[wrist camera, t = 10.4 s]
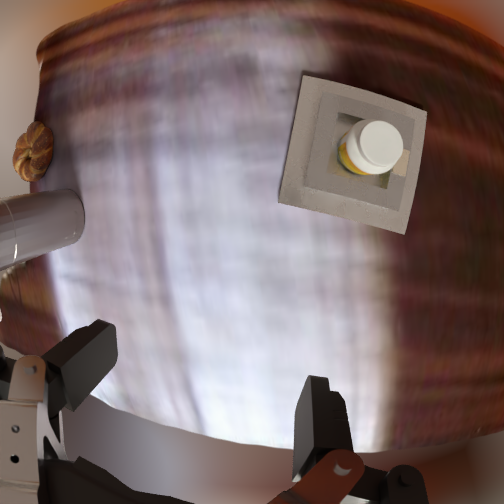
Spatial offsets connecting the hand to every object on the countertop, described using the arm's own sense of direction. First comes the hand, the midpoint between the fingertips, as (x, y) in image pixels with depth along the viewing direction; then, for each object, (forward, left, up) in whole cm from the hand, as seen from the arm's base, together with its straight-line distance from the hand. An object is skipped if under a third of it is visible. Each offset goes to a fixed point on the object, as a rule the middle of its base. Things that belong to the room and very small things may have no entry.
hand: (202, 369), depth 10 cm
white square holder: (+8, +13, -26) cm, 30 cm away
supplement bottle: (+8, +13, -25) cm, 29 cm away
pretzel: (-44, +7, -26) cm, 51 cm away
